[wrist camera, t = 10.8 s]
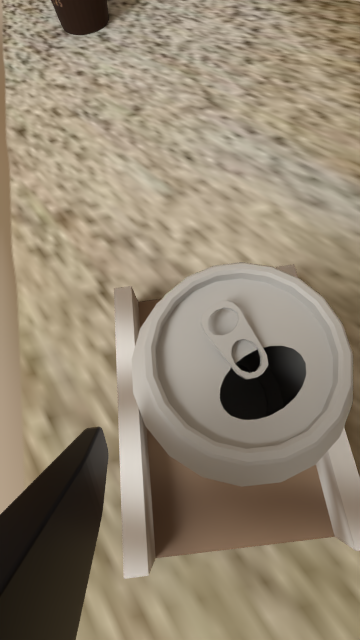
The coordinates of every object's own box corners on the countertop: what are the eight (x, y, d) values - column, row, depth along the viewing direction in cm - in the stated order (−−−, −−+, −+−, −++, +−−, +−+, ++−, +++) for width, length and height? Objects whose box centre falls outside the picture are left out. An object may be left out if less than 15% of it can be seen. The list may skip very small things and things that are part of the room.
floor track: (348, 529, 18) (381, 547, 14) (137, 554, 18) (123, 578, 15) (281, 288, 24) (294, 264, 21) (125, 309, 24) (113, 288, 21)
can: (206, 493, 18) (215, 566, 7) (143, 386, 21) (76, 317, 10) (305, 420, 19) (445, 384, 8) (233, 328, 22) (265, 207, 11)
